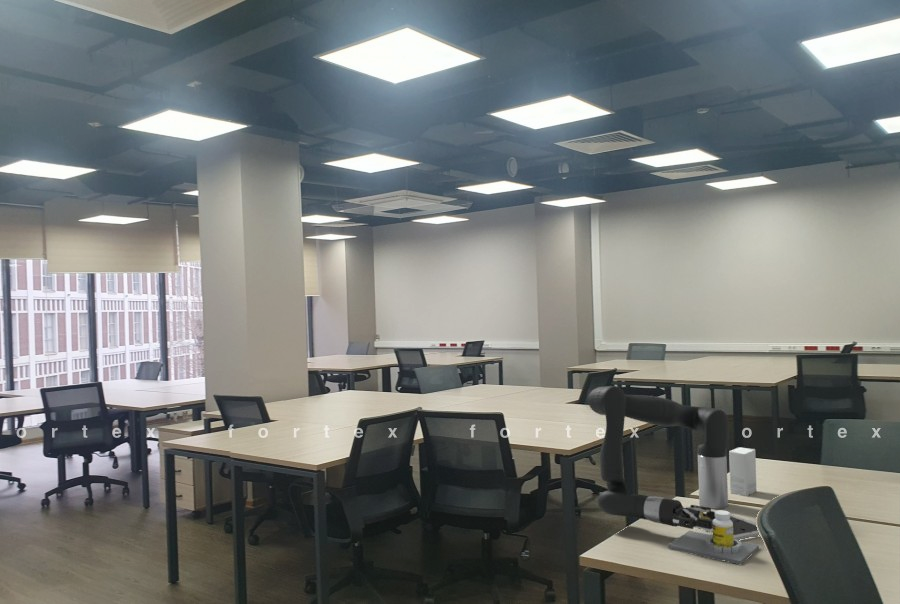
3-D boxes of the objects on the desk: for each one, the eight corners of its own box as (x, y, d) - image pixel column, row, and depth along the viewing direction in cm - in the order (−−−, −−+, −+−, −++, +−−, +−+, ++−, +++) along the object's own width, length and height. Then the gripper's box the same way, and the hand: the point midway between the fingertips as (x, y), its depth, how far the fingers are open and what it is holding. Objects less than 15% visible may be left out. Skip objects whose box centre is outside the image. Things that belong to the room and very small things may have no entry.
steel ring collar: (713, 539, 192) (713, 534, 192) (746, 546, 186) (745, 540, 186) (701, 548, 185) (701, 542, 185) (734, 555, 179) (734, 550, 179)
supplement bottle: (708, 545, 187) (707, 510, 187) (723, 542, 189) (722, 508, 189) (722, 552, 182) (721, 516, 182) (738, 548, 184) (737, 513, 184)
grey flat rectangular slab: (689, 533, 200) (689, 530, 200) (759, 548, 186) (759, 545, 186) (668, 548, 188) (668, 544, 188) (740, 565, 175) (740, 561, 175)
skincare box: (740, 488, 246) (738, 446, 246) (758, 492, 241) (756, 449, 241) (729, 493, 240) (727, 450, 240) (747, 496, 235) (745, 453, 235)
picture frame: (683, 524, 211) (732, 545, 191) (682, 515, 211) (732, 535, 191) (721, 516, 216) (773, 536, 197) (721, 508, 216) (773, 527, 197)
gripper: (652, 503, 192) (707, 514, 181) (672, 492, 203) (726, 501, 192) (652, 529, 192) (708, 541, 181) (673, 517, 202) (727, 527, 192)
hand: (718, 521), depth 186 cm, fingers open, 8 cm apart
